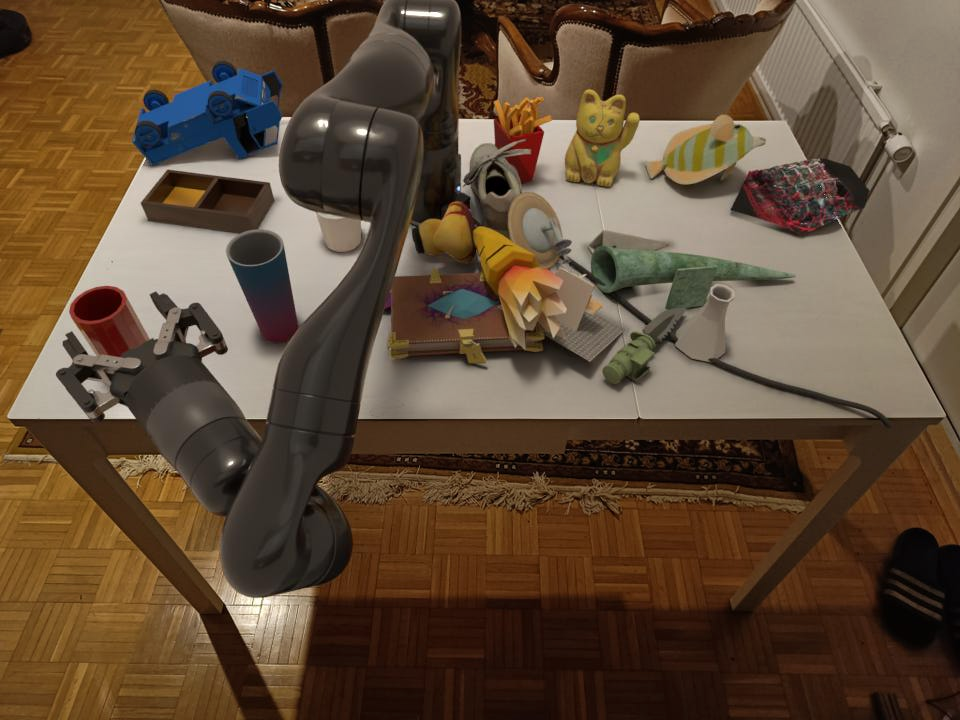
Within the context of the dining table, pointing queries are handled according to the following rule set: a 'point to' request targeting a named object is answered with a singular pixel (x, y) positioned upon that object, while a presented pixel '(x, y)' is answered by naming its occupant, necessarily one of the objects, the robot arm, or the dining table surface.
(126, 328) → the tumbler
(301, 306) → the dining table surface
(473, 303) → the book
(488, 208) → the shoe
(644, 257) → the decorative horn
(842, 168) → the fabric swatch
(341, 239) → the shot glass
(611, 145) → the figurine
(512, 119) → the french fries
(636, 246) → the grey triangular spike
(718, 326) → the flask
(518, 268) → the torch
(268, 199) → the caddy
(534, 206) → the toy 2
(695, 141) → the decorative fish sculpture
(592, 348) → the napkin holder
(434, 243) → the toy
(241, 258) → the cup
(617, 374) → the knife
